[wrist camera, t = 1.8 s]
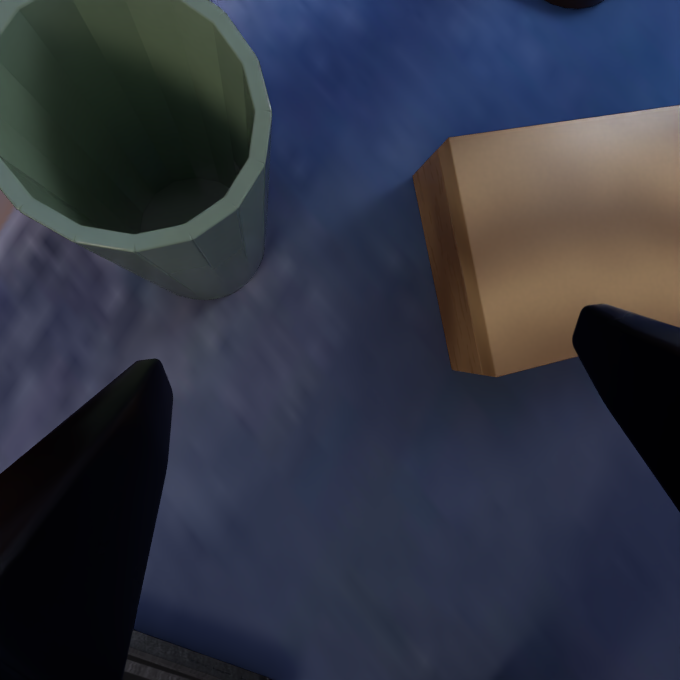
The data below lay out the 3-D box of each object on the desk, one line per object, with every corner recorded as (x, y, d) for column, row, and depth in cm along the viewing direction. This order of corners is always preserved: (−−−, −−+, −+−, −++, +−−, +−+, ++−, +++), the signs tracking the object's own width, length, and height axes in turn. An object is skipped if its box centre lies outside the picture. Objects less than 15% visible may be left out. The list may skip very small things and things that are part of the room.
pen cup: (256, 308, 22) (250, 271, 10) (128, 289, 21) (-61, 221, 9) (272, 190, 22) (287, 6, 10) (146, 165, 21) (-15, -77, 9)
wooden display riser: (657, 319, 26) (739, 315, 22) (451, 370, 24) (496, 377, 19) (625, 142, 26) (702, 101, 21) (411, 175, 23) (448, 137, 19)
